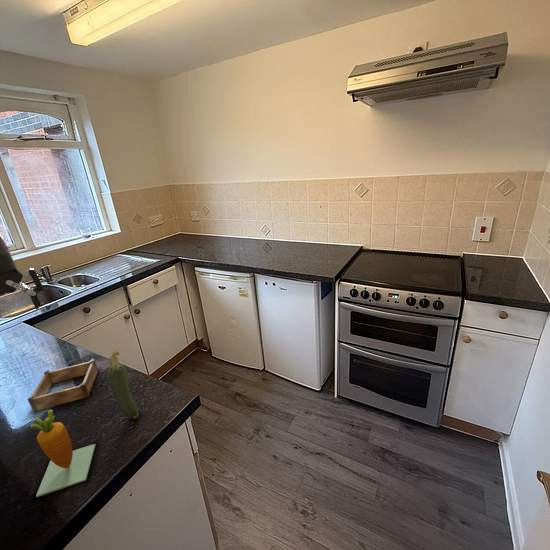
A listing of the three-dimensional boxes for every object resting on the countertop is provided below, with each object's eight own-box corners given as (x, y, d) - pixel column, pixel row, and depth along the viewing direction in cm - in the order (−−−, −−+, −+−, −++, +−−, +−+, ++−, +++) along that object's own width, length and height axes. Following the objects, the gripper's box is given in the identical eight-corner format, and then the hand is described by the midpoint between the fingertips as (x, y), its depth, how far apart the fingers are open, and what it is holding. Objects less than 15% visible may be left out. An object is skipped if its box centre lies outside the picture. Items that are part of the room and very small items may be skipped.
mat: (36, 497, 60) (35, 496, 60) (52, 458, 68) (51, 457, 68) (86, 480, 62) (85, 479, 62) (95, 444, 70) (95, 443, 70)
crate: (33, 412, 82) (27, 399, 81) (50, 382, 94) (45, 371, 92) (89, 396, 86) (84, 384, 84) (98, 369, 97) (94, 358, 96)
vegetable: (122, 426, 75) (97, 361, 67) (123, 414, 78) (99, 351, 71) (141, 419, 76) (119, 354, 69) (141, 408, 80) (120, 345, 73)
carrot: (54, 483, 62) (25, 430, 57) (55, 464, 66) (28, 413, 61) (81, 469, 64) (56, 417, 59) (81, 452, 68) (57, 402, 63)
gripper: (24, 244, 77) (47, 300, 83) (-54, 260, 68) (-21, 322, 74) (27, 248, 71) (52, 308, 77) (-56, 266, 63) (-21, 332, 68)
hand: (16, 314), depth 76 cm, fingers open, 8 cm apart
